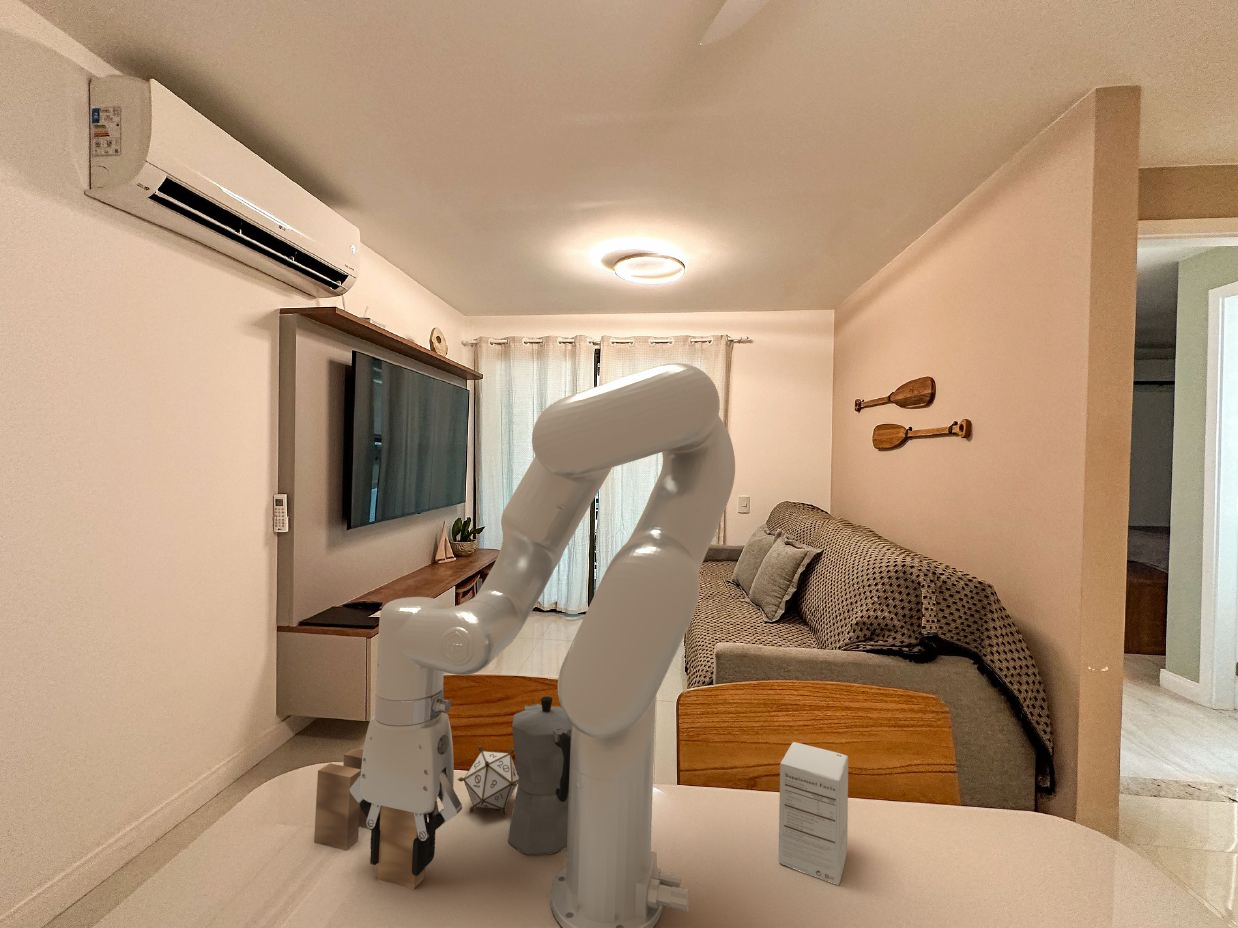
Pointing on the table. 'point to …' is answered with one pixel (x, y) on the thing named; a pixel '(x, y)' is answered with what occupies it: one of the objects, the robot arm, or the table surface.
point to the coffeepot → (541, 779)
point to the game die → (491, 780)
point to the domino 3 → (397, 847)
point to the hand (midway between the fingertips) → (401, 860)
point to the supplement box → (814, 811)
